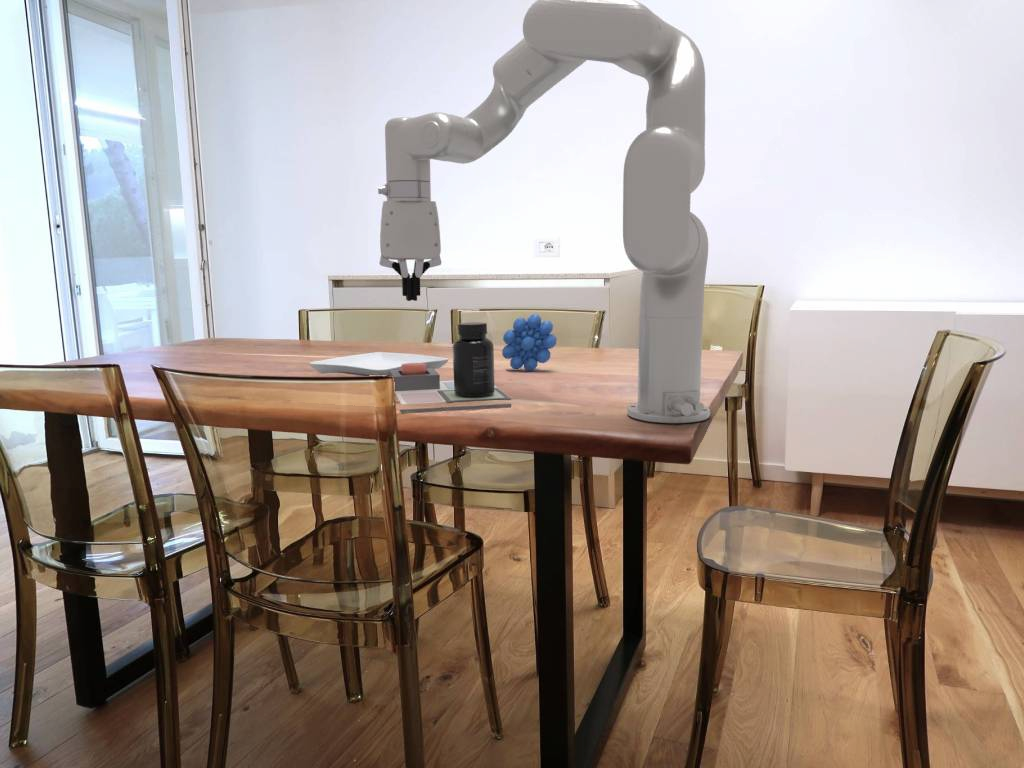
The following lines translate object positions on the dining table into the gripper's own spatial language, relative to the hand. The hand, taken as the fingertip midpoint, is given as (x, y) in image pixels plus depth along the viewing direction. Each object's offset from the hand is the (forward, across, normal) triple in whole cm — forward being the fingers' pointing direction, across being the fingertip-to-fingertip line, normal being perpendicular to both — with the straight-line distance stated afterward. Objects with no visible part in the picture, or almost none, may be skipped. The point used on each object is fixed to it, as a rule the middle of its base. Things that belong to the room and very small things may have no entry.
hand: (411, 300), depth 146 cm
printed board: (+17, +5, -6) cm, 19 cm away
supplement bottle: (+15, +9, -12) cm, 21 cm away
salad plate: (+18, -4, +26) cm, 32 cm away
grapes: (+17, +27, +21) cm, 38 cm away
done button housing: (+15, 0, 0) cm, 15 cm away
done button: (+13, 0, 0) cm, 14 cm away
